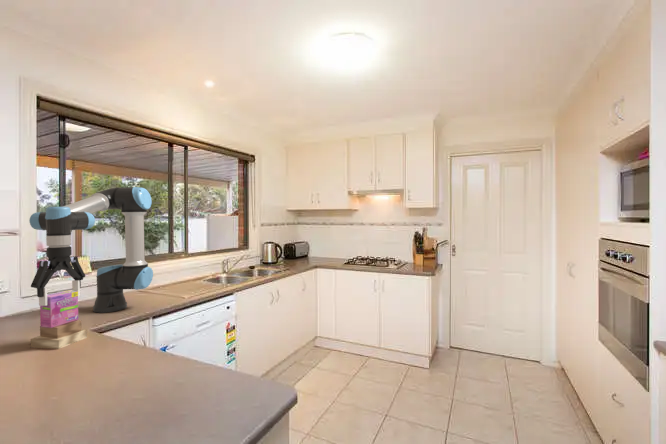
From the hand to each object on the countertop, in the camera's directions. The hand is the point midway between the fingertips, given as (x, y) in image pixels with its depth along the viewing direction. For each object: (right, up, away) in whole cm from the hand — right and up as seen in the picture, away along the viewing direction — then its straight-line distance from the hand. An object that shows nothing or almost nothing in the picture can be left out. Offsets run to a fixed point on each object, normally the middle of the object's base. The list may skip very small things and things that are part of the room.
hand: (60, 300), depth 131 cm
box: (0, -9, 0) cm, 9 cm away
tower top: (0, -13, 0) cm, 13 cm away
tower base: (0, -17, -1) cm, 17 cm away
